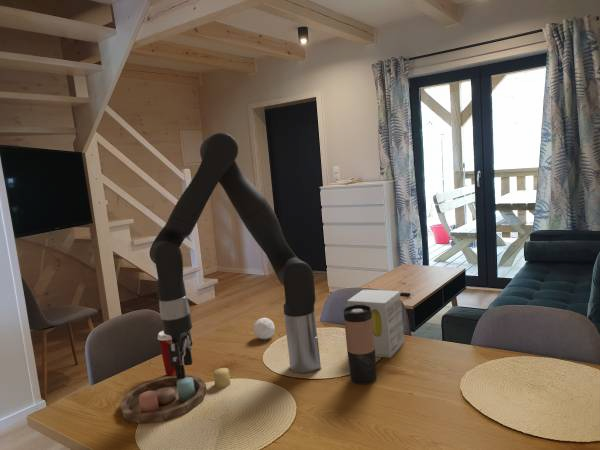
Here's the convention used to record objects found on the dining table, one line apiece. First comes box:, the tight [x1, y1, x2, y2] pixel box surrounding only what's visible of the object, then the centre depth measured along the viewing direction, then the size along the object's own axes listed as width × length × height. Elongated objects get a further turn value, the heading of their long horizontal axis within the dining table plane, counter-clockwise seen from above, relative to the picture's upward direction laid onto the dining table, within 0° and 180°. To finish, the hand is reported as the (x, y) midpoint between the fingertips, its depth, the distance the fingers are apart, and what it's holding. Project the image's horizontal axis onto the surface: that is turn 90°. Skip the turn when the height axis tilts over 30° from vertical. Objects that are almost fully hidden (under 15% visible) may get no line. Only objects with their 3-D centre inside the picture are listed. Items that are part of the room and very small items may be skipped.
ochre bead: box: [213, 367, 231, 389], centre depth 129 cm, size 4×4×5 cm
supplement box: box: [347, 289, 405, 359], centre depth 144 cm, size 13×13×18 cm
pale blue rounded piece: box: [177, 377, 195, 402], centre depth 122 cm, size 4×4×5 cm
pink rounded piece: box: [139, 391, 159, 413], centre depth 117 cm, size 4×4×5 cm
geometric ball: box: [252, 317, 275, 341], centre depth 164 cm, size 8×8×8 cm
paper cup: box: [157, 330, 185, 377], centre depth 141 cm, size 8×8×14 cm
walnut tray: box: [119, 374, 208, 425], centre depth 123 cm, size 22×22×3 cm
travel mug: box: [343, 305, 378, 385], centre depth 124 cm, size 8×8×20 cm
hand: (185, 371), depth 122 cm, fingers open, 8 cm apart
